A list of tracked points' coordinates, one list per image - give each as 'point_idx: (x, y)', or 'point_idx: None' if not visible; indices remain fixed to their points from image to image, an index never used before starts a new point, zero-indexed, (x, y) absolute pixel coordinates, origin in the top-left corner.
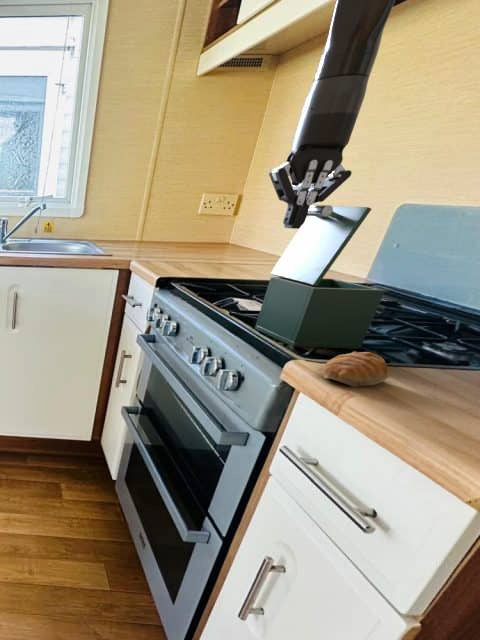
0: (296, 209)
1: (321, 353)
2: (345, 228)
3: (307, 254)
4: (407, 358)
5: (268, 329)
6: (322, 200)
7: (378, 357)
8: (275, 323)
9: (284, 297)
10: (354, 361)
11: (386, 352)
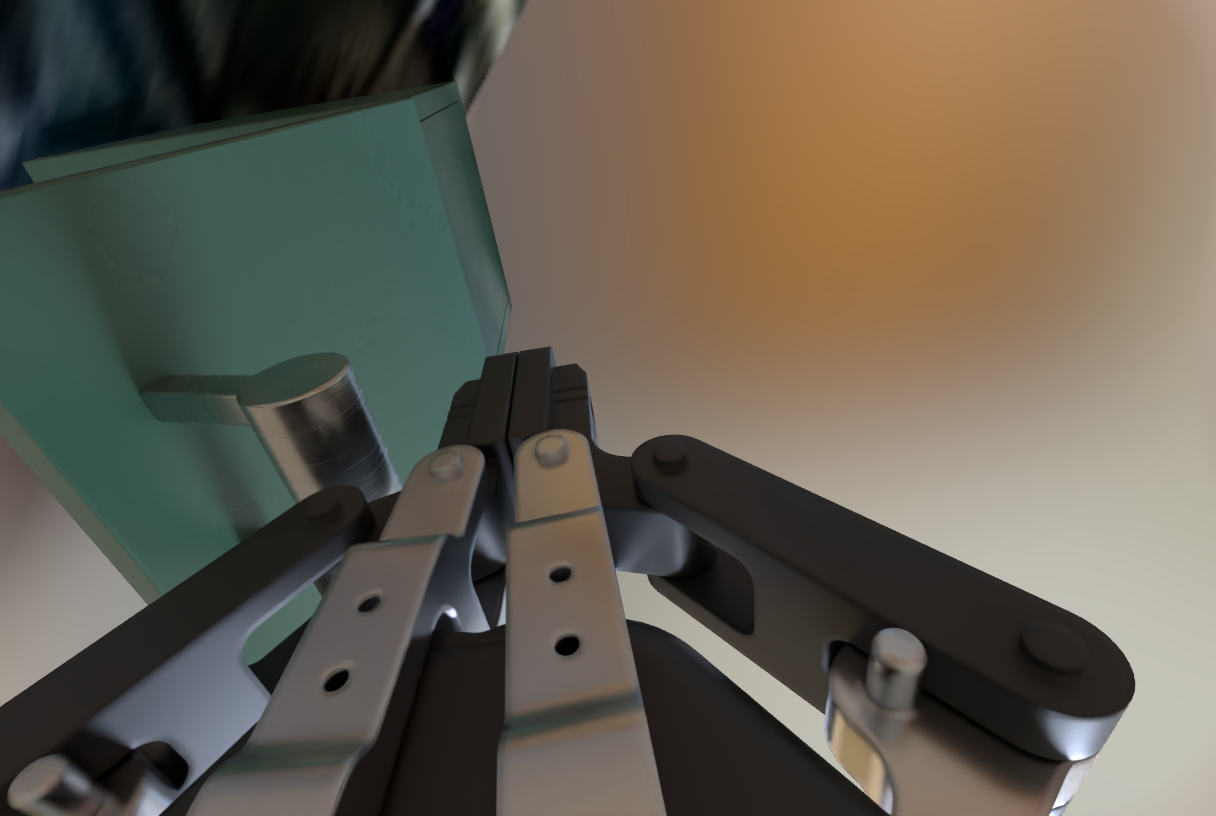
0: (554, 428)
1: (373, 6)
2: (168, 246)
3: (391, 330)
4: (44, 23)
5: (493, 241)
6: (317, 498)
7: None
8: (483, 226)
9: (470, 256)
10: None
11: (107, 97)
